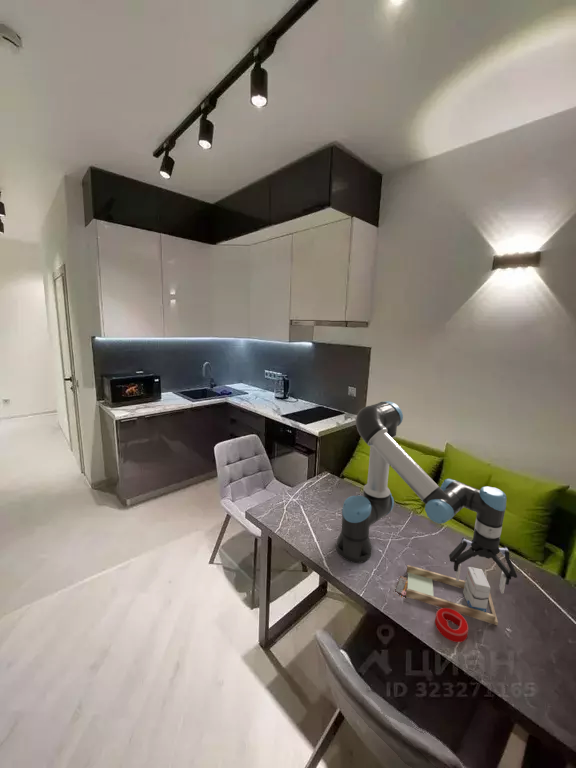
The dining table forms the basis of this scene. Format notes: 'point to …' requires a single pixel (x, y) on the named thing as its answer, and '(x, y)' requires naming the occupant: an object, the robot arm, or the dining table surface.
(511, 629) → the dining table surface
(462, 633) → the decorative ornament
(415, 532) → the dining table surface
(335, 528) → the dining table surface
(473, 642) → the dining table surface
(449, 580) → the bay
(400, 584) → the chocolate bar
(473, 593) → the ink box
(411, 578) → the front pad
